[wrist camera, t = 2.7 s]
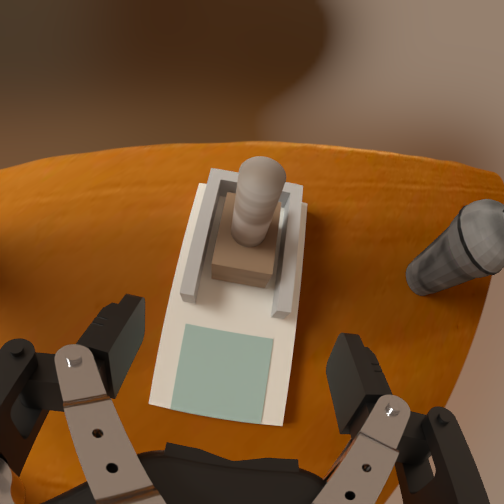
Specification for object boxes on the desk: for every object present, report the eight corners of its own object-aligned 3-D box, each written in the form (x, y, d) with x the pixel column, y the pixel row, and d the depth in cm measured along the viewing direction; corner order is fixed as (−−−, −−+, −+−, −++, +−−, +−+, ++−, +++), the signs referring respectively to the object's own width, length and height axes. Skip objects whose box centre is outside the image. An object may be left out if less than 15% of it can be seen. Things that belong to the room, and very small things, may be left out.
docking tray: (199, 190, 34) (198, 165, 30) (303, 210, 35) (315, 188, 31) (151, 402, 25) (141, 406, 21) (279, 423, 26) (290, 431, 22)
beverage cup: (414, 317, 31) (554, 249, 13) (386, 263, 34) (506, 161, 15) (449, 291, 33) (569, 221, 15) (423, 242, 36) (529, 151, 17)
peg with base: (225, 213, 31) (233, 129, 20) (273, 222, 32) (304, 143, 21) (211, 278, 29) (211, 214, 18) (264, 288, 29) (297, 230, 18)
